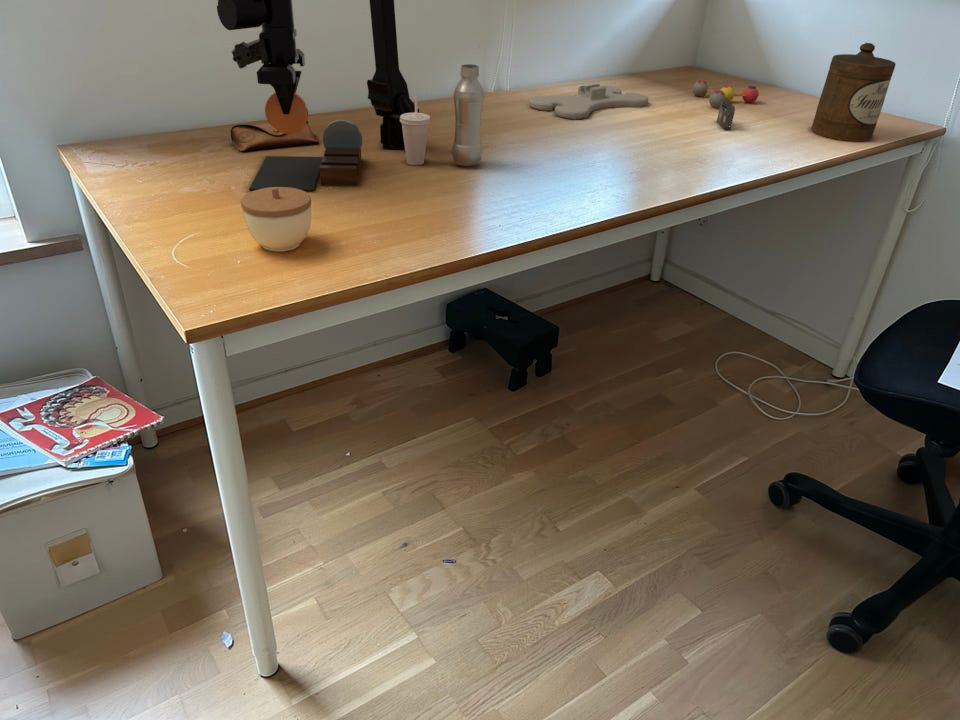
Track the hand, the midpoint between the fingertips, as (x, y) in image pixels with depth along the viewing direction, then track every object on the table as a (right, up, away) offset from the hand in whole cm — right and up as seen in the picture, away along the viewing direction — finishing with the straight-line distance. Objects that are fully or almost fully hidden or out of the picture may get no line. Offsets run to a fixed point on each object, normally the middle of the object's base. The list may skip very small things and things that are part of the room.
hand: (286, 113), depth 141 cm
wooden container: (+132, +11, +50) cm, 141 cm away
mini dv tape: (+101, +14, +52) cm, 115 cm away
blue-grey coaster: (+9, -2, +11) cm, 14 cm away
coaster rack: (+9, -9, +9) cm, 16 cm away
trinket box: (+5, -29, -22) cm, 36 cm away
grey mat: (-1, -10, +7) cm, 12 cm away
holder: (+68, +24, +65) cm, 97 cm away
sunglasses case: (-9, +1, +24) cm, 25 cm away
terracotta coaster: (0, 0, 0) cm, 0 cm away
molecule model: (+110, +28, +75) cm, 136 cm away
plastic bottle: (+34, -6, +16) cm, 38 cm away
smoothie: (+23, -5, +16) cm, 29 cm away
